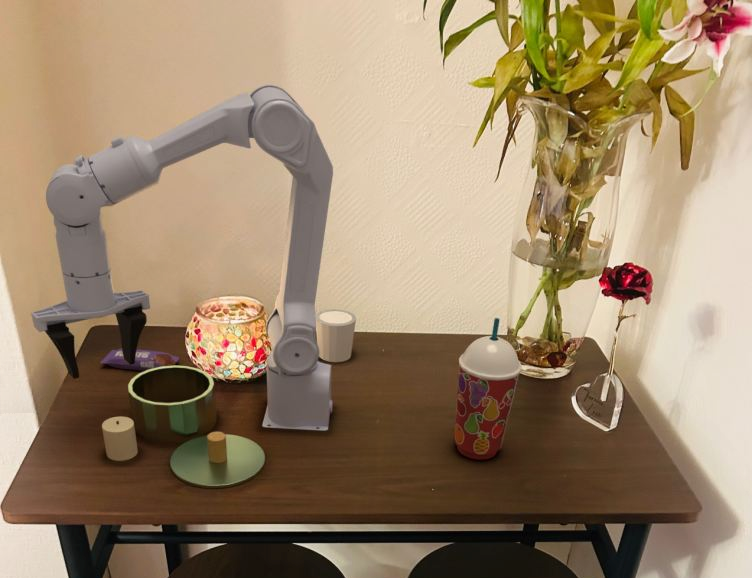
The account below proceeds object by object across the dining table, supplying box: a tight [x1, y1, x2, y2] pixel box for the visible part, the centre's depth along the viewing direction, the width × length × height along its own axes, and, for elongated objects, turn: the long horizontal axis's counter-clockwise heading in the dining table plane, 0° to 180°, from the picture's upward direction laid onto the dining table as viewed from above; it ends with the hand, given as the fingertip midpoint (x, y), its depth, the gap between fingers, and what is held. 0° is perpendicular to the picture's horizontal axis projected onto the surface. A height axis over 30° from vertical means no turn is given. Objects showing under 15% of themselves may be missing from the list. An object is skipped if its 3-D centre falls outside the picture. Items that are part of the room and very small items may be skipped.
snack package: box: [99, 347, 181, 372], centre depth 125 cm, size 12×2×5 cm
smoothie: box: [453, 317, 523, 461], centre depth 105 cm, size 8×8×20 cm
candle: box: [101, 416, 139, 462], centre depth 102 cm, size 4×4×5 cm
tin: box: [127, 365, 218, 443], centre depth 110 cm, size 12×12×6 cm
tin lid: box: [169, 431, 266, 489], centre depth 102 cm, size 12×12×5 cm
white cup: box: [315, 309, 357, 363], centre depth 131 cm, size 7×7×7 cm
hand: (102, 368), depth 103 cm, fingers open, 7 cm apart
